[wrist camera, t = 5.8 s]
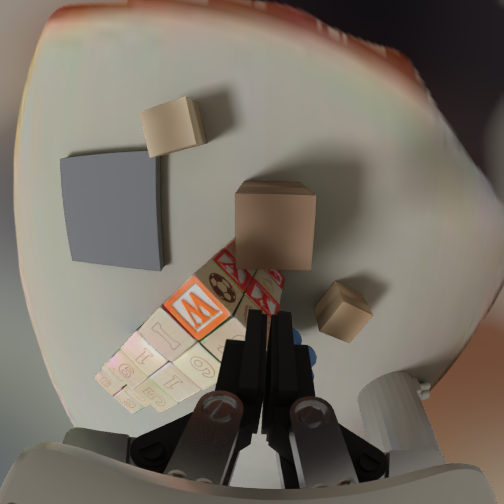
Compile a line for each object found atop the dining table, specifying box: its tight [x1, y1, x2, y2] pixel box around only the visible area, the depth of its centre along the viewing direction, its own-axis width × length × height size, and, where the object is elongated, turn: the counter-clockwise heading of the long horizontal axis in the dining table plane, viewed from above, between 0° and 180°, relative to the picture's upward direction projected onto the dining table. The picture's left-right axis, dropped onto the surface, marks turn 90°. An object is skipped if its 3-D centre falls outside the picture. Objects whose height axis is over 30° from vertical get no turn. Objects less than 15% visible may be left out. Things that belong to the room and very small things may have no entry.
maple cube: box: [140, 96, 207, 158], centre depth 20 cm, size 4×4×4 cm
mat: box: [60, 150, 164, 271], centre depth 25 cm, size 12×12×1 cm
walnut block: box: [235, 181, 316, 270], centre depth 21 cm, size 5×5×8 cm
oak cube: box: [314, 281, 373, 343], centre depth 27 cm, size 4×4×4 cm
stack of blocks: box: [94, 237, 285, 414], centre depth 23 cm, size 21×6×12 cm, turn 135°
